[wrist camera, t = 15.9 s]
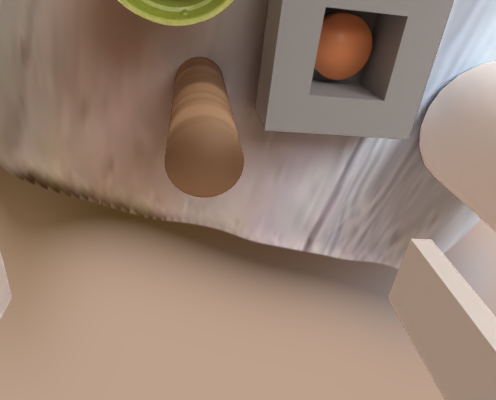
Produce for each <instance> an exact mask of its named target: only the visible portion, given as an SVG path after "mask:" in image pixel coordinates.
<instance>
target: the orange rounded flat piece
mask: <svg viewBox="0 0 496 400" xmlns="http://www.w3.org/2000/svg"><path fill="white" fill-rule="evenodd" d="M371 50H372V35H371V31H370V29H369V27H368V25H367V24H366V23H365V21H364V20H362V19H361V18H360V17H358V16H356V15H353V14H350V13H347V12H343V11H334V12H330V13H327V14H325V15H324V19H323V24H322V29H321V35H320V40H319V45H318V51H317V56H316V61H315V67H314V68H315V69H316V70H317V71H318V72H319V73H320V74H322V75H323V76H325V77H327V78H329V79H334V80H341V79H346V78H348V77H351V76H353V75H354V74H356V73H357V72H358V71H360V70H361V69H362V67H363V66H364V65H365V64H366V62H367V60H368V58H369V56H370V53H371Z"/></svg>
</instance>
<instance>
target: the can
mask: <svg viewBox="0 0 496 400" xmlns="http://www.w3.org/2000/svg"><path fill="white" fill-rule="evenodd" d="M419 147H420V151H421V155H422V158H423V162H424V165H425V166H426V167H427V168H428V170H429V171H430V172H431V173H432V174H433V176H434V177H435V178H437V179H438V180H439V181H440V182H441V183H442V184H443V185H444V186H445V187H446V188H448V189H449V190H450V191H451V192H452V193H453V194H454V195H455V196H456V197H458V198H459V199H460V200H461V201H462V202H463V203H464V204H465V205H466V206H468V207H469V208H470V209H471V210H472V211H473V212H474V213H475V214H476V215H477V216H479V217H480V218H481V219H482V220H483V221H484V222H485V223H487V224H488V225H489V226H490V227H491V228H492V229H493V230H494V231H495V232H496V61H494V62H488V63H483V64H480V65H478V66H476V67H474V68H472V69H470V70H468V71H466V72H464V73H462V74H460V75H458V76H457V77H456V78H455V79H453V80H452V81H451V82H450V83H449V84H448V85H446V86H445V87H444V88H443V89H442V90H441V91H440V92H439V94H438V95H437V96H436V98H435V99H434V101H433V102H432V103H431V105H430V106H429V108H428V110H427V112H426V115H425V117H424V120H423V122H422V125H421V129H420V142H419Z"/></svg>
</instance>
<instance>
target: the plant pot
mask: <svg viewBox="0 0 496 400" xmlns="http://www.w3.org/2000/svg"><path fill="white" fill-rule="evenodd" d="M117 1H118V2H119V3H121V4H122V5H123V6H124V7H126V8H127V9H128V10H130V11H131V12H133V13H135V14H136V15H138V16H140V17H142V18H144V19H147V20H149V21H151V22H155V23H158V24H162V25H168V26H188V25H193V24H197V23H201V22H204V21H206V20H208V19H211V18H213V17H214V16H216V15H218V14H219V13H220V12H222V11H223V10H224V9H226V8H227V7H228V6H229V5H230V4H231V3H232V2H233V1H234V0H117Z"/></svg>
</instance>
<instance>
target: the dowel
mask: <svg viewBox="0 0 496 400" xmlns="http://www.w3.org/2000/svg"><path fill="white" fill-rule="evenodd" d="M243 166H244V158H243V153H242V149H241V145H240V141H239V137H238V133H237V130H236V126H235V122H234V118H233V114H232V110H231V106H230V102H229V98H228V94H227V90H226V87H225V83H224V79H223V75H222V72H221V70H220V68H219V67H218V66H217V65H216V64H215V63H214V62H213V61H211V60H209V59H207V58H203V57H195V58H191V59H189V60H187V61H185V62H184V63H183V64H182V65H181V66H180V68H179V69H178V72H177V75H176V81H175V88H174V96H173V103H172V110H171V118H170V125H169V132H168V140H167V147H166V154H165V168H166V172H167V175H168V177H169V179H170V180H171V182H172V183H173V184H174V185H175V186H176V187H177V188H178V189H179V190H181V191H183V192H184V193H186V194H189V195H192V196H196V197H213V196H217V195H220V194H222V193H224V192H226V191H227V190H229V189H230V188H231V187H233V186H234V185H235V183H236V182H237V181H238V179H239V178H240V176H241V173H242V171H243Z"/></svg>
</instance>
